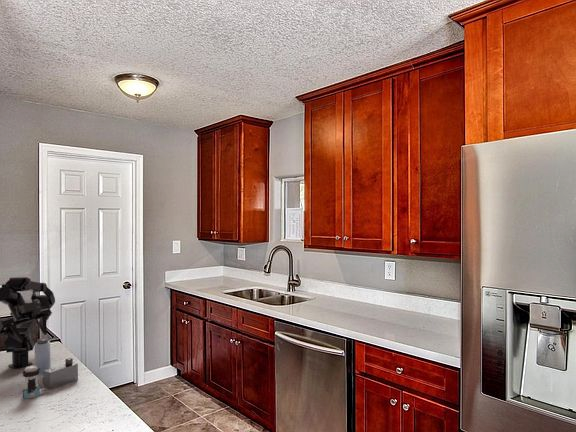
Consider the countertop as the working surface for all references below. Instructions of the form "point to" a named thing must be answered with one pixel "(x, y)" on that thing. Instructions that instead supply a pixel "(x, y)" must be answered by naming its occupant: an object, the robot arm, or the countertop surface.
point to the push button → (31, 382)
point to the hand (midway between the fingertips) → (34, 338)
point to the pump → (42, 355)
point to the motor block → (59, 375)
